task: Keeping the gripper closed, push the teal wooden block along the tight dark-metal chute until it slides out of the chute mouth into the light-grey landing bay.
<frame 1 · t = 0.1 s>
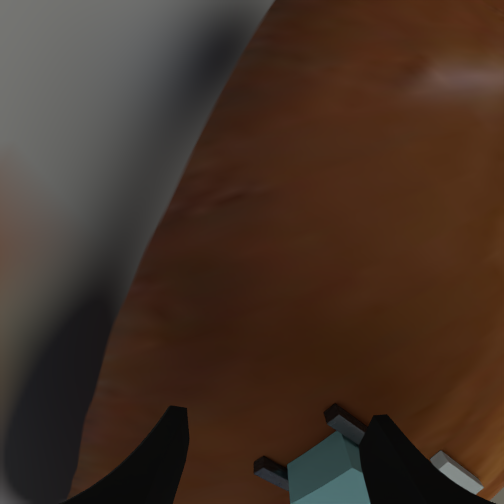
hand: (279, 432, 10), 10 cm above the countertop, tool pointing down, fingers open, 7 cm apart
chute: (346, 468, 23), on the countertop
landing bay: (414, 500, 24), on the countertop
teal block: (343, 464, 23), on the countertop
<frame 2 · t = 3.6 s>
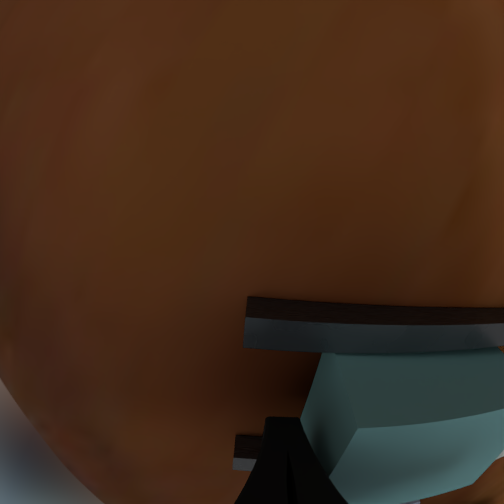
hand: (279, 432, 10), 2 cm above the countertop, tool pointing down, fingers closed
chute: (397, 391, 13), on the countertop
teal block: (399, 389, 13), on the countertop, touching gripper
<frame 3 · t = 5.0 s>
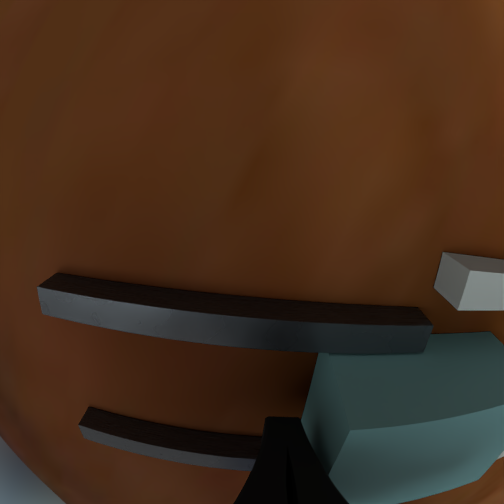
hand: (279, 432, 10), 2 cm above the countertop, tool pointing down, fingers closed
chute: (225, 388, 13), on the countertop
landing bay: (487, 380, 13), on the countertop
teal block: (400, 386, 13), on the countertop, touching gripper
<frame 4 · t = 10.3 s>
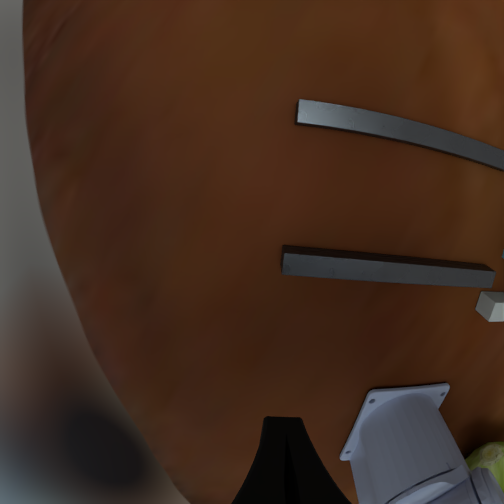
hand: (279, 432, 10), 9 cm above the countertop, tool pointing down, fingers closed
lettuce: (470, 451, 26), on the countertop
chute: (411, 202, 17), on the countertop
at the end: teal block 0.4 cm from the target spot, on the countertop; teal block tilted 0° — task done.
